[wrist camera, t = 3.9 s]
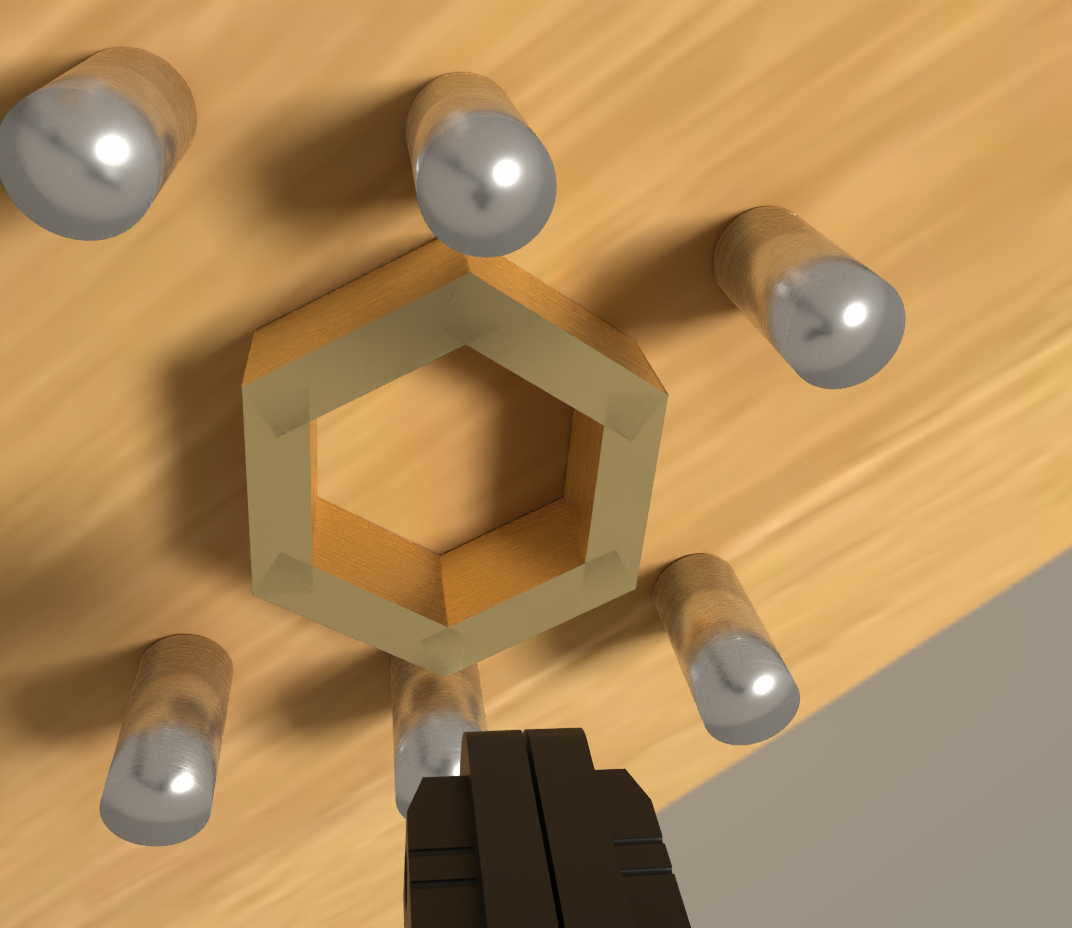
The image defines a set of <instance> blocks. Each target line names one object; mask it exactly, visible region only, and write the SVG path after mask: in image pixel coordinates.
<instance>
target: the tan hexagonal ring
mask: <svg viewBox="0 0 1072 928" xmlns="http://www.w3.org/2000/svg"><path fill="white" fill-rule="evenodd" d="M464 345H467V346H469V347H471V348H472V349H474V350H476V351H478V352H479V353H481V354H483V355H484V356H486V357H488V358H489V359H491V360H493V361H495V362H496V363H498V364H500V365H501V366H503V367H505V368H507V369H508V370H510V371H512V372H513V373H515V374H517V375H518V376H520V377H522V378H524V379H525V380H527V381H529V382H530V383H532V384H534V385H536V386H537V387H539V388H541V389H542V390H544V391H546V392H547V393H549V394H551V395H553V396H554V397H556V398H558V399H559V400H561V401H563V402H565V403H566V404H568V405H570V406H571V407H573V408H574V412H573V421H572V429H571V437H570V445H569V454H568V462H567V470H566V479H565V487H564V495H563V498H561V499H559V500H557V501H555V502H552V503H550V504H548V505H546V506H544V507H542V508H540V509H538V510H536V511H534V512H531V513H529V514H527V515H525V516H523V517H521V518H519V519H517V520H515V521H512V522H510V523H508V524H506V525H504V526H502V527H500V528H498V529H496V530H494V531H491V532H489V533H487V534H485V535H483V536H481V537H479V538H477V539H475V540H473V541H470V542H468V543H466V544H464V545H462V546H460V547H458V548H456V549H454V550H452V551H449V552H447V553H445V554H443V555H441V556H438V555H436V554H434V553H432V552H430V551H428V550H426V549H424V548H422V547H420V546H417V545H415V544H413V543H411V542H409V541H407V540H405V539H403V538H401V537H399V536H397V535H395V534H393V533H391V532H389V531H386V530H384V529H382V528H380V527H378V526H376V525H374V524H372V523H370V522H368V521H366V520H364V519H362V518H360V517H357V516H355V515H353V514H351V513H349V512H347V511H345V510H343V509H341V508H339V507H337V506H335V505H333V504H331V503H328V502H326V501H324V500H322V499H320V498H318V497H317V447H316V418H318V417H320V416H322V415H324V414H326V413H328V412H330V411H332V410H334V409H336V408H339V407H341V406H343V405H345V404H347V403H349V402H351V401H353V400H355V399H357V398H359V397H361V396H363V395H365V394H367V393H369V392H371V391H373V390H375V389H377V388H379V387H381V386H383V385H385V384H387V383H389V382H391V381H393V380H395V379H397V378H399V377H401V376H403V375H405V374H407V373H409V372H411V371H413V370H415V369H417V368H419V367H421V366H423V365H425V364H427V363H429V362H431V361H433V360H436V359H438V358H440V357H442V356H444V355H446V354H448V353H450V352H452V351H454V350H456V349H458V348H460V347H462V346H464ZM241 388H242V399H243V418H244V438H245V457H246V476H247V495H248V515H249V534H250V553H251V573H252V595H254V596H257V597H259V598H261V599H264V600H266V601H268V602H271V603H273V604H275V605H278V606H280V607H282V608H285V609H287V610H289V611H292V612H294V613H296V614H299V615H301V616H303V617H306V618H308V619H310V620H313V621H315V622H317V623H320V624H322V625H324V626H327V627H329V628H331V629H334V630H336V631H338V632H341V633H343V634H345V635H348V636H350V637H352V638H355V639H357V640H359V641H362V642H364V643H366V644H369V645H371V646H373V647H376V648H378V649H380V650H383V651H385V652H387V653H390V654H392V655H394V656H397V657H399V658H401V659H404V660H406V661H408V662H410V663H413V664H415V665H417V666H420V667H422V668H424V669H427V670H429V671H431V672H434V673H436V674H438V675H441V676H443V677H444V678H446V677H447V676H449V675H451V674H453V673H455V672H458V671H460V670H462V669H464V668H466V667H468V666H471V665H473V664H475V663H477V662H479V661H481V660H484V659H486V658H488V657H490V656H492V655H494V654H496V653H499V652H501V651H503V650H505V649H507V648H509V647H512V646H514V645H516V644H518V643H520V642H522V641H524V640H527V639H529V638H531V637H533V636H535V635H537V634H540V633H542V632H544V631H546V630H548V629H550V628H553V627H555V626H557V625H559V624H561V623H563V622H565V621H568V620H570V619H572V618H574V617H576V616H578V615H581V614H583V613H585V612H587V611H589V610H591V609H593V608H596V607H598V606H600V605H602V604H604V603H606V602H609V601H611V600H613V599H615V598H617V597H619V596H622V595H624V594H626V593H628V592H630V591H632V590H635V589H636V583H637V577H638V571H639V565H640V559H641V553H642V547H643V542H644V536H645V530H646V524H647V518H648V512H649V506H650V500H651V494H652V488H653V482H654V476H655V470H656V464H657V458H658V452H659V446H660V440H661V435H662V429H663V423H664V417H665V411H666V405H667V399H668V396H669V395H668V393H667V391H666V390H665V388H664V387H663V385H662V383H661V382H660V380H659V378H658V377H657V375H656V374H655V372H654V370H653V369H652V367H651V365H650V364H649V362H648V360H647V359H646V357H645V356H644V354H643V352H642V351H641V349H640V347H639V346H638V344H637V343H636V341H633V340H632V339H630V338H629V337H627V336H626V335H624V334H622V333H621V332H619V331H618V330H616V329H615V328H613V327H611V326H610V325H608V324H607V323H605V322H604V321H602V320H600V319H599V318H597V317H596V316H594V315H593V314H591V313H589V312H588V311H586V310H585V309H583V308H582V307H580V306H578V305H577V304H575V303H574V302H572V301H571V300H569V299H567V298H566V297H564V296H563V295H561V294H560V293H558V292H556V291H555V290H553V289H552V288H550V287H549V286H547V285H545V284H544V283H542V282H541V281H539V280H538V279H536V278H534V277H533V276H531V275H530V274H528V273H527V272H525V271H523V270H522V269H520V268H519V267H517V266H516V265H514V264H513V263H511V262H509V261H508V260H506V259H505V258H503V257H502V256H497V257H484V258H482V257H474V256H469V255H465V254H463V253H460V252H457V251H455V250H454V249H452V248H450V247H448V246H447V245H446V244H444V243H443V242H441V241H440V240H439V239H436V240H434V241H432V242H430V243H428V244H426V245H424V246H422V247H420V248H418V249H416V250H414V251H412V252H410V253H408V254H406V255H404V256H402V257H400V258H398V259H396V260H394V261H392V262H390V263H388V264H386V265H384V266H382V267H380V268H378V269H376V270H375V271H373V272H371V273H369V274H367V275H365V276H363V277H361V278H359V279H357V280H355V281H353V282H351V283H349V284H347V285H345V286H343V287H341V288H339V289H337V290H335V291H333V292H331V293H329V294H327V295H325V296H323V297H321V298H319V299H317V300H315V301H313V302H311V303H309V304H307V305H305V306H303V307H301V308H299V309H298V310H296V311H294V312H292V313H290V314H288V315H286V316H284V317H282V318H280V319H278V320H276V321H274V322H272V323H270V324H268V325H266V326H264V327H262V328H260V329H258V330H255V331H254V335H253V340H252V344H251V348H250V352H249V356H248V361H247V365H246V369H245V373H244V377H243V381H242V386H241Z"/></svg>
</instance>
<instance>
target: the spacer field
mask: <svg viewBox="0 0 1072 928" xmlns="http://www.w3.org/2000/svg"><path fill="white" fill-rule="evenodd" d="M196 125H197V113H196V106H195V102H194V99H193V96H192V94H191V91H190V89H189V87H188V86H187V84H186V82H185V81H184V79H183V78H182V76H181V75H180V74H179V73H178V72H177V71H176V70H175V69H174V68H173V67H172V66H171V65H170V64H169V63H167V62H166V61H165V60H163V59H162V58H160V57H158V56H157V55H155V54H153V53H150V52H148V51H145V50H142V49H138V48H132V47H115V48H110V49H106V50H103V51H101V52H98V53H96V54H95V55H93V56H91V57H90V58H88V59H87V60H85V61H83V62H82V63H80V64H78V65H77V66H75V67H74V68H72V69H70V70H69V71H67V72H66V73H64V74H62V75H61V76H59V77H57V78H56V79H54V80H53V81H51V82H49V83H48V84H46V85H44V86H43V87H41V88H40V89H38V90H36V91H35V92H33V93H31V94H30V95H28V96H27V97H25V98H24V99H22V100H20V101H19V102H18V103H17V104H16V105H14V106H13V107H12V108H11V109H10V111H9V112H8V113H7V114H6V116H5V117H4V119H3V121H2V123H1V125H0V179H1V182H2V184H3V186H4V188H5V190H6V192H7V193H8V195H9V196H10V198H11V199H12V201H13V202H14V203H15V204H16V206H17V207H18V208H19V209H20V210H21V211H22V212H23V213H24V214H25V215H26V216H27V217H28V218H30V219H31V220H32V221H34V222H35V223H36V224H38V225H39V226H41V227H43V228H44V229H46V230H48V231H50V232H53V233H55V234H57V235H60V236H63V237H66V238H71V239H75V240H85V241H92V240H102V239H107V238H111V237H115V236H117V235H119V234H121V233H124V232H125V231H127V230H128V229H130V228H131V227H133V226H134V225H135V224H136V223H137V222H138V221H139V220H140V219H141V218H142V217H143V216H144V214H145V213H146V211H147V210H148V208H149V207H150V205H151V204H152V202H153V201H154V199H155V198H156V196H157V195H158V193H159V192H160V190H161V189H162V187H163V186H164V184H165V183H166V181H167V180H168V178H169V177H170V175H171V174H172V172H173V171H174V169H175V168H176V166H177V165H178V163H179V162H180V160H181V159H182V157H183V156H184V154H185V153H186V151H187V150H188V148H189V147H190V145H191V143H192V141H193V138H194V135H195V131H196ZM406 139H407V145H408V151H409V156H410V161H411V167H412V172H413V177H414V183H415V188H416V193H417V199H418V204H419V207H420V211H421V214H422V216H423V218H424V220H425V222H426V224H427V225H428V227H429V228H430V230H431V231H432V232H433V233H434V235H435V236H436V237H437V238H438V239H439V240H440V241H441V242H443V243H444V244H446V245H447V246H448V247H450V248H452V249H454V250H455V251H457V252H460V253H463V254H465V255H469V256H474V257H482V258H484V257H497V256H502V255H506V254H509V253H511V252H514V251H516V250H518V249H520V248H521V247H523V246H525V245H526V244H527V243H529V242H530V241H531V240H532V239H534V238H535V237H536V236H537V235H538V233H539V232H540V231H541V230H542V228H543V227H544V226H545V224H546V222H547V221H548V219H549V217H550V214H551V212H552V209H553V206H554V203H555V197H556V174H555V170H554V166H553V163H552V160H551V158H550V156H549V154H548V152H547V150H546V148H545V147H544V146H543V144H542V143H541V141H540V140H539V139H538V137H537V136H536V134H535V133H534V132H533V130H532V129H531V127H530V126H529V125H528V123H527V122H526V121H525V119H524V118H523V116H522V115H521V114H520V112H519V111H518V109H517V108H516V107H515V105H514V104H513V103H512V101H511V100H510V98H509V97H508V96H507V94H506V93H505V92H504V91H503V90H502V89H501V87H499V86H498V85H497V84H496V83H495V82H493V81H491V80H490V79H488V78H486V77H484V76H481V75H478V74H475V73H469V72H455V73H449V74H446V75H443V76H440V77H438V78H436V79H434V80H433V81H431V82H430V83H428V84H427V85H426V86H425V87H424V88H423V89H422V90H421V91H420V92H419V93H418V95H417V96H416V97H415V99H414V101H413V103H412V105H411V107H410V109H409V112H408V116H407V120H406ZM713 271H714V276H715V279H716V281H717V283H718V285H719V287H720V288H721V290H722V291H723V292H724V293H725V294H726V295H727V296H728V298H729V299H730V300H731V301H732V302H733V303H734V304H735V305H736V306H737V308H738V309H739V310H740V311H741V312H742V313H743V314H744V315H745V316H746V317H747V319H748V320H749V321H750V322H751V323H752V324H753V325H754V326H755V327H756V328H757V330H758V331H759V332H760V333H761V334H762V335H763V336H764V337H765V338H766V339H767V341H768V342H769V343H770V344H771V345H772V346H773V347H774V348H775V349H776V351H777V352H778V353H779V354H780V355H781V356H782V357H783V358H784V359H785V360H786V362H787V363H788V364H789V365H790V366H791V367H792V368H793V369H794V370H795V371H796V373H797V374H798V375H799V376H800V377H801V378H802V379H804V380H805V381H806V382H808V383H810V384H812V385H814V386H817V387H820V388H825V389H842V388H847V387H851V386H854V385H857V384H859V383H862V382H864V381H866V380H867V379H869V378H871V377H872V376H874V375H875V374H876V373H878V372H879V371H880V370H881V369H882V368H883V367H884V366H885V365H886V364H887V363H888V362H889V361H890V359H891V358H892V357H893V355H894V354H895V352H896V350H897V349H898V347H899V345H900V342H901V340H902V337H903V333H904V329H905V310H904V305H903V302H902V300H901V298H900V296H899V294H898V293H897V291H896V290H895V289H894V288H893V287H892V286H891V285H890V284H889V283H888V282H886V281H885V280H884V279H882V278H881V277H880V276H878V275H877V274H876V273H874V272H873V271H872V270H870V269H869V268H868V267H866V266H865V265H864V264H862V263H861V262H859V261H858V260H857V259H855V258H854V257H853V256H851V255H850V254H849V253H847V252H846V251H845V250H843V249H842V248H841V247H839V246H838V245H837V244H835V243H834V242H832V241H831V240H830V239H828V238H827V237H826V236H824V235H823V234H822V233H820V232H819V231H818V230H816V229H815V228H814V227H812V226H811V225H810V224H808V223H807V222H806V221H804V220H803V219H801V218H800V217H799V216H797V215H796V214H795V213H793V212H791V211H790V210H787V209H785V208H782V207H777V206H763V207H758V208H754V209H751V210H749V211H747V212H745V213H743V214H741V215H740V216H738V217H737V218H736V219H734V220H733V221H732V222H731V223H730V224H729V225H728V226H727V227H726V229H725V230H724V231H723V233H722V234H721V236H720V238H719V240H718V242H717V244H716V247H715V251H714V255H713ZM653 600H654V604H655V606H656V609H657V611H658V613H659V616H660V618H661V621H662V623H663V626H664V628H665V630H666V633H667V635H668V638H669V640H670V643H671V645H672V647H673V650H674V652H675V655H676V657H677V659H678V662H679V664H680V667H681V669H682V672H683V674H684V676H685V679H686V681H687V684H688V686H689V688H690V691H691V693H692V696H693V698H694V701H695V703H696V705H697V708H698V710H699V713H700V715H701V718H702V720H703V722H704V725H705V727H706V729H707V731H708V732H709V733H710V734H711V736H713V737H714V738H715V739H717V740H719V741H721V742H723V743H727V744H731V745H749V744H754V743H758V742H761V741H764V740H766V739H768V738H770V737H772V736H774V735H776V734H777V733H779V732H780V731H781V730H783V729H784V728H785V727H786V726H787V725H788V724H789V723H790V722H791V720H792V719H793V717H794V716H795V714H796V712H797V710H798V707H799V703H800V693H799V689H798V687H797V685H796V683H795V681H794V679H793V678H792V676H791V674H790V672H789V670H788V669H787V667H786V665H785V663H784V661H783V659H782V658H781V656H780V654H779V652H778V650H777V649H776V647H775V645H774V643H773V641H772V639H771V638H770V636H769V634H768V632H767V630H766V629H765V627H764V625H763V623H762V621H761V619H760V618H759V616H758V614H757V612H756V610H755V609H754V607H753V605H752V603H751V601H750V599H749V598H748V596H747V594H746V592H745V590H744V589H743V587H742V585H741V583H740V581H739V579H738V578H737V576H736V574H735V572H734V570H733V569H732V567H731V566H730V565H729V564H728V563H727V562H726V561H725V560H723V559H722V558H720V557H718V556H714V555H710V554H695V555H690V556H686V557H684V558H681V559H679V560H677V561H675V562H674V563H672V564H671V565H670V566H668V567H667V568H666V569H665V570H664V571H663V572H662V573H661V575H660V576H659V578H658V579H657V581H656V584H655V587H654V591H653ZM390 669H391V694H392V719H393V745H394V770H395V795H396V805H397V808H398V810H399V812H400V813H401V815H402V816H403V817H404V818H405V819H407V810H408V808H409V806H410V803H411V801H412V799H413V797H414V795H415V793H416V791H417V789H418V786H419V784H420V782H421V780H422V778H423V777H439V776H459V770H460V756H461V743H462V735H463V732H473V731H488V730H487V724H486V717H485V710H484V704H483V697H482V691H481V684H480V678H479V671H478V664H477V663H475V664H473V665H471V666H468V667H466V668H464V669H462V670H460V671H458V672H455V673H453V674H451V675H449V676H447V677H446V678H444V677H443V676H441V675H438V674H436V673H434V672H431V671H429V670H427V669H424V668H422V667H420V666H417V665H415V664H413V663H410V662H408V661H406V660H404V659H401V658H399V657H397V656H394V655H392V658H391V663H390ZM232 677H233V664H232V661H231V659H230V657H229V655H228V654H227V652H226V651H225V650H224V649H223V648H222V647H221V646H219V645H218V644H217V643H215V642H213V641H211V640H209V639H207V638H204V637H200V636H196V635H184V634H183V635H174V636H169V637H166V638H163V639H161V640H159V641H157V642H155V643H154V644H152V645H151V646H150V647H149V648H148V649H147V650H146V651H145V653H144V654H143V656H142V658H141V661H140V664H139V668H138V671H137V675H136V678H135V682H134V685H133V689H132V692H131V696H130V699H129V703H128V707H127V710H126V714H125V717H124V721H123V724H122V728H121V731H120V735H119V738H118V742H117V745H116V749H115V752H114V756H113V759H112V763H111V766H110V770H109V773H108V777H107V780H106V784H105V787H104V791H103V794H102V798H101V801H100V815H101V818H102V820H103V822H104V824H105V825H106V827H107V828H108V829H109V830H110V831H111V832H113V833H114V834H115V835H117V836H118V837H120V838H122V839H124V840H126V841H129V842H131V843H135V844H139V845H145V846H167V845H173V844H177V843H180V842H183V841H185V840H188V839H189V838H191V837H193V836H194V835H196V834H197V833H199V832H200V831H201V830H202V829H203V828H204V826H205V825H206V823H207V822H208V820H209V817H210V813H211V807H212V801H213V795H214V788H215V782H216V776H217V770H218V764H219V757H220V751H221V745H222V739H223V733H224V727H225V720H226V714H227V708H228V702H229V696H230V690H231V683H232Z"/></svg>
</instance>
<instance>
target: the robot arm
mask: <svg viewBox="0 0 1072 928" xmlns="http://www.w3.org/2000/svg"><path fill="white" fill-rule="evenodd" d="M403 901H404V928H691V926H690V923H689V920H688V916H687V913H686V910H685V907H684V904H683V900H682V897H681V894H680V891H679V888H678V884H677V881H676V878H675V875H674V874H672V865H671V862H670V859H669V856H668V852H667V849H666V846H665V844H663V841H662V833H661V830H660V827H659V823H658V820H657V817H656V814H655V811H654V807H653V804H652V801H651V799H650V798H649V797H648V795H647V794H646V793H645V792H644V791H643V790H642V788H641V787H640V786H639V785H638V784H637V782H636V781H635V780H634V779H633V778H632V776H631V775H630V774H629V773H628V772H627V770H626V769H607V770H595V769H594V766H593V762H592V758H591V754H590V750H589V746H588V742H587V738H586V735H585V733H584V731H583V729H582V728H556V729H526V730H524V731H523V733H522V731H521V730H504V731H473V732H463V735H462V743H461V756H460V770H459V776H439V777H423V778H422V780H421V782H420V784H419V786H418V789H417V791H416V793H415V795H414V797H413V799H412V801H411V803H410V806H409V808H408V810H407V819H406V844H405V868H404V893H403Z"/></svg>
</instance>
